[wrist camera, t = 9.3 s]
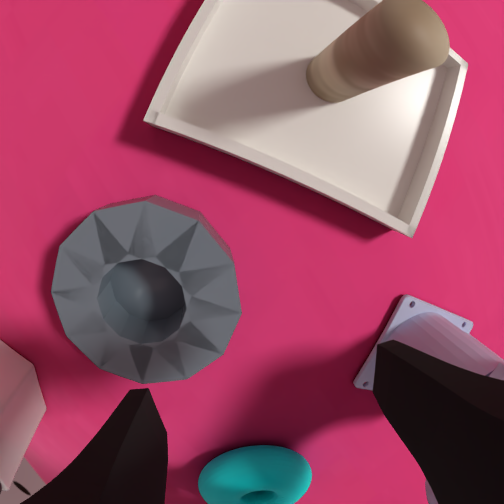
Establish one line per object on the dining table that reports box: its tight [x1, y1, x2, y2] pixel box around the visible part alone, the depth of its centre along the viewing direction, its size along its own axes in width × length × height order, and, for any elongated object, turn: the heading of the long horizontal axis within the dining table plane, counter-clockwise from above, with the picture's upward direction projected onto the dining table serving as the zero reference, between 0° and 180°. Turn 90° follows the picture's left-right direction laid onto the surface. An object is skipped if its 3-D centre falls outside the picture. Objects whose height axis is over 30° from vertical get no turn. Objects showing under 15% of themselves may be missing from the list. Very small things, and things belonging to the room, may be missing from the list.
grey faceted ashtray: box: [51, 195, 242, 384], centre depth 17 cm, size 10×10×3 cm
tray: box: [143, 0, 468, 238], centre depth 16 cm, size 16×13×2 cm
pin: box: [306, 0, 450, 103], centre depth 12 cm, size 3×3×8 cm
